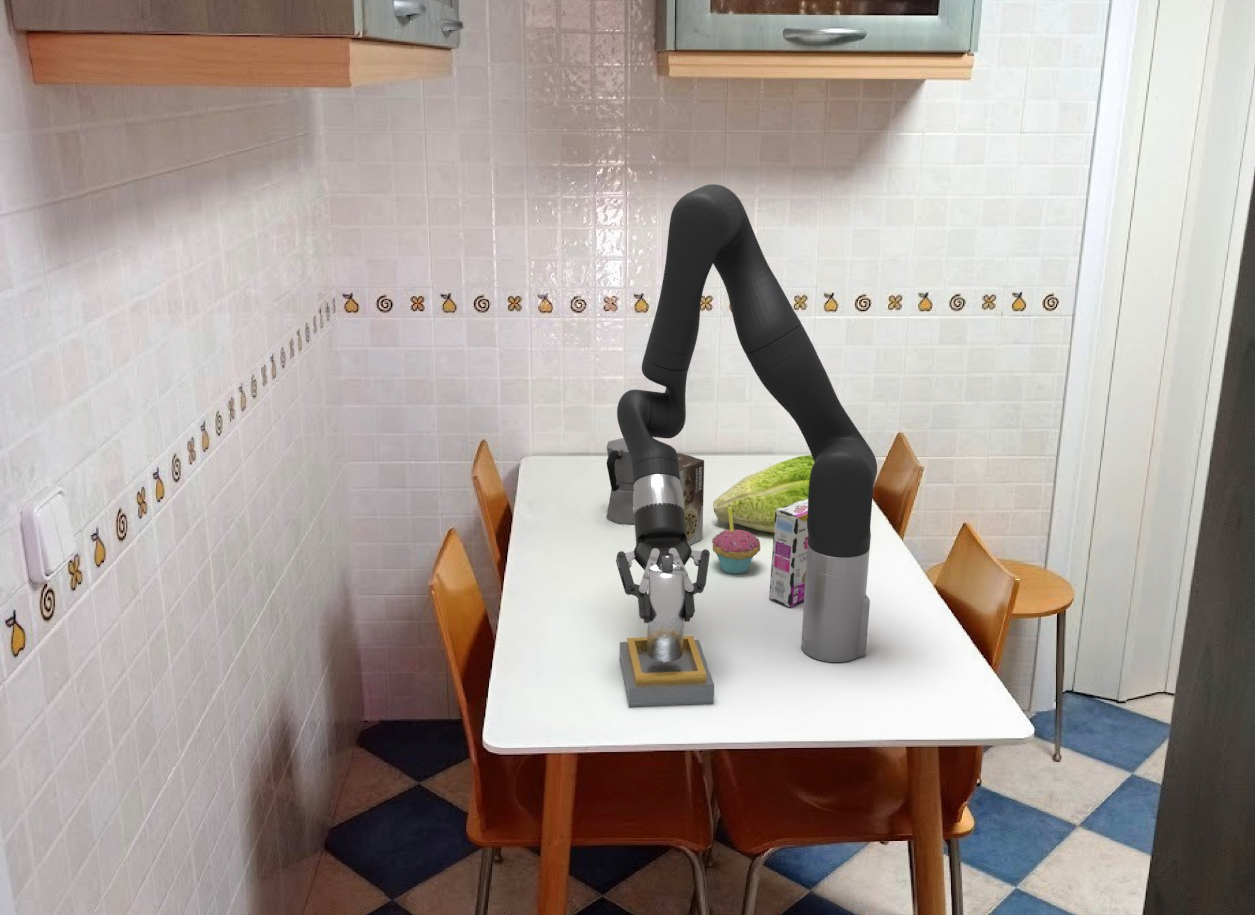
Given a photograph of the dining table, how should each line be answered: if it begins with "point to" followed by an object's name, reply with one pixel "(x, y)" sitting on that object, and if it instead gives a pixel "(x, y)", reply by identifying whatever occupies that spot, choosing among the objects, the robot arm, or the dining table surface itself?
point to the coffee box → (692, 495)
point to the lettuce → (766, 494)
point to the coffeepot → (620, 483)
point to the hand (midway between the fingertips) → (667, 620)
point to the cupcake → (735, 548)
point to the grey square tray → (665, 675)
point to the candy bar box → (789, 554)
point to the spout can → (666, 610)
